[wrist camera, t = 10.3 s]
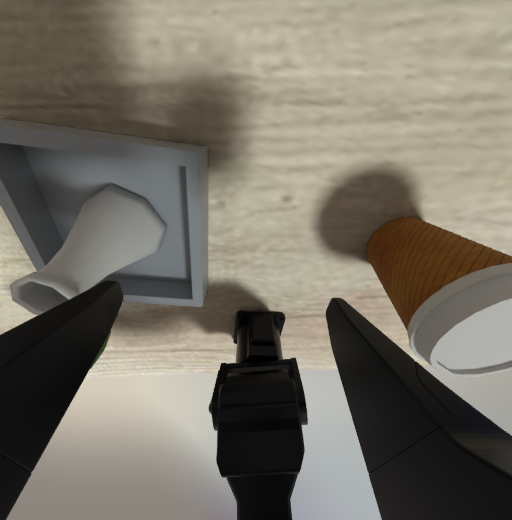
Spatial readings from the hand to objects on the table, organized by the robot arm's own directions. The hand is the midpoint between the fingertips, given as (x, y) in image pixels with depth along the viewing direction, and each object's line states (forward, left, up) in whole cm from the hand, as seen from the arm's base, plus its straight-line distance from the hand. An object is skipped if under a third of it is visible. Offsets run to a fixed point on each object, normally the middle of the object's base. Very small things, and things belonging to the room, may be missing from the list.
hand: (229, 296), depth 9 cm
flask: (-4, +10, -12) cm, 17 cm away
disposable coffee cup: (-3, -17, -13) cm, 22 cm away
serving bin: (-4, +10, -13) cm, 17 cm away
